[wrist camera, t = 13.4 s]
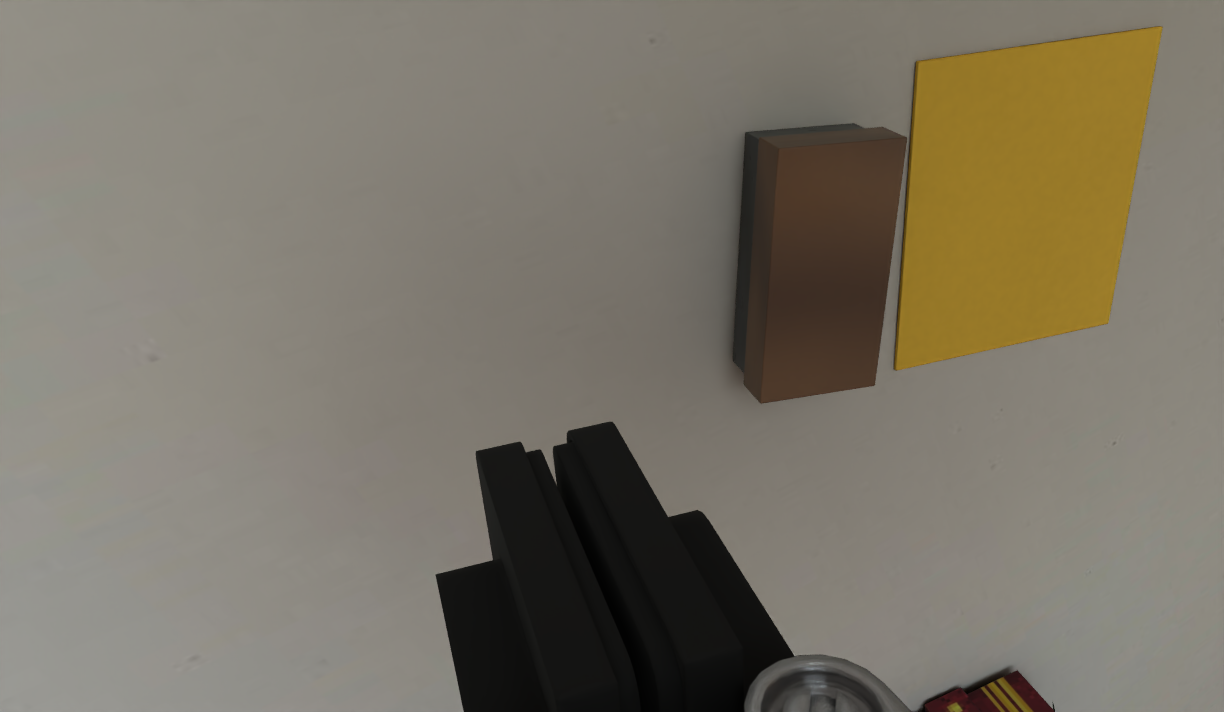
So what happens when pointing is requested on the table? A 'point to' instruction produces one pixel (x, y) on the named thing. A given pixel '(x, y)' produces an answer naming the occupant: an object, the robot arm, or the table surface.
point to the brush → (815, 257)
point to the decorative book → (993, 698)
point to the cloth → (1019, 191)
